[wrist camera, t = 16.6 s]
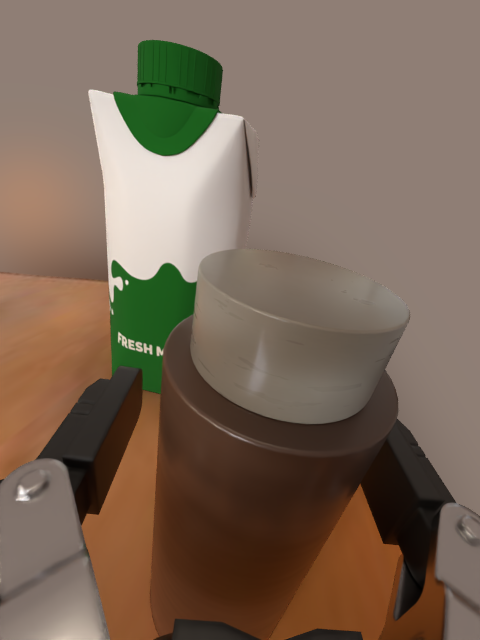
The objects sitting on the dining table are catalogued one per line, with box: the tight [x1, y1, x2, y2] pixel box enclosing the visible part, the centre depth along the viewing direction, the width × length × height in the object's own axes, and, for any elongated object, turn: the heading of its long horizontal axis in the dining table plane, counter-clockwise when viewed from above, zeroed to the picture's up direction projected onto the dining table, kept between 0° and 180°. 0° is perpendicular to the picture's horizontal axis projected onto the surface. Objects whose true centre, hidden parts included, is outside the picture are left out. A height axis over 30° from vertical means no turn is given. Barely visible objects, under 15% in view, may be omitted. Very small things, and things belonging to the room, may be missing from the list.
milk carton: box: [89, 40, 259, 394], centre depth 20 cm, size 9×9×20 cm
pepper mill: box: [150, 249, 410, 640], centre depth 9 cm, size 6×6×14 cm
